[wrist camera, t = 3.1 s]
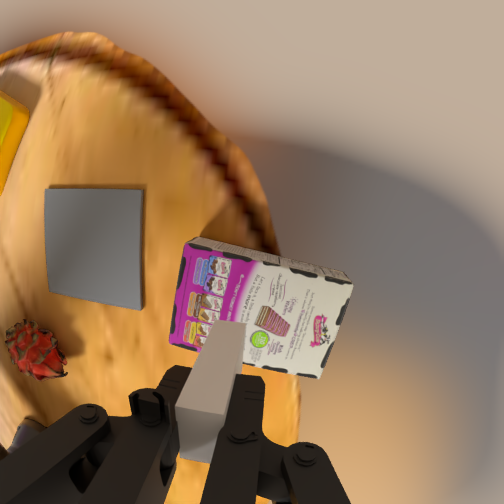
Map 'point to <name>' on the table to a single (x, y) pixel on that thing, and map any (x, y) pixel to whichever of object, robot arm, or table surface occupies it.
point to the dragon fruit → (35, 351)
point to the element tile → (10, 132)
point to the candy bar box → (260, 305)
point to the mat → (95, 244)
